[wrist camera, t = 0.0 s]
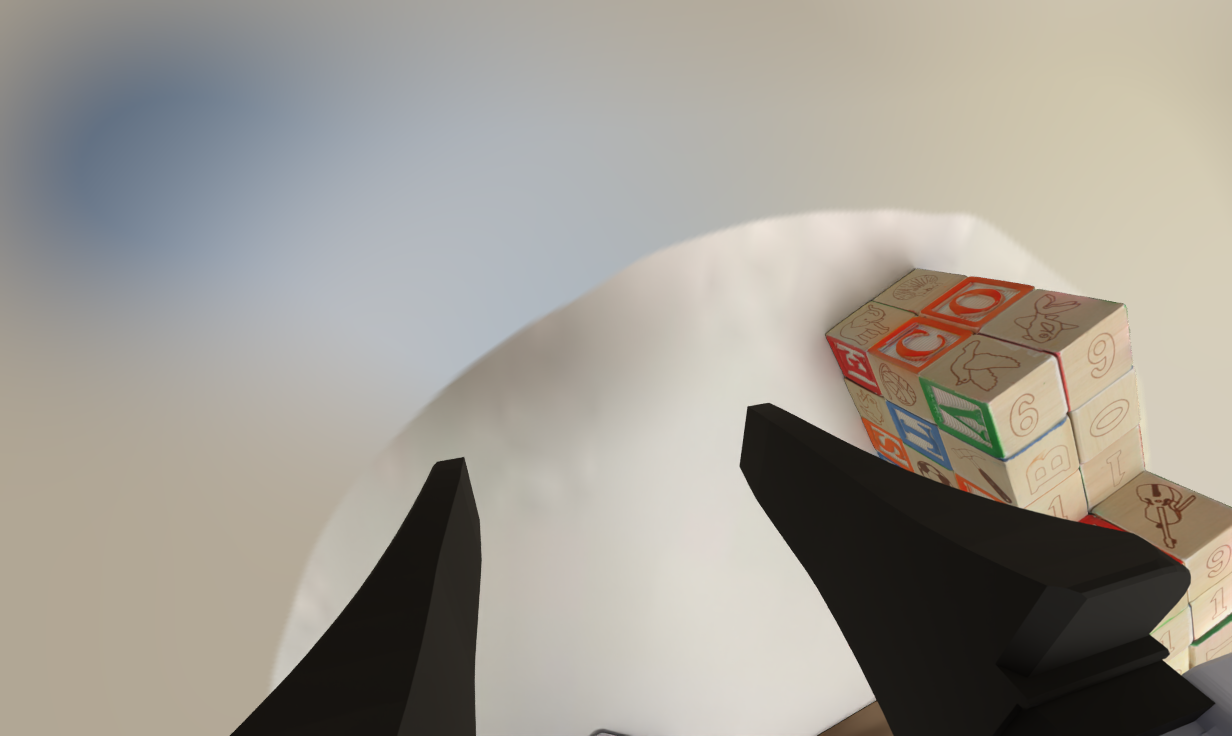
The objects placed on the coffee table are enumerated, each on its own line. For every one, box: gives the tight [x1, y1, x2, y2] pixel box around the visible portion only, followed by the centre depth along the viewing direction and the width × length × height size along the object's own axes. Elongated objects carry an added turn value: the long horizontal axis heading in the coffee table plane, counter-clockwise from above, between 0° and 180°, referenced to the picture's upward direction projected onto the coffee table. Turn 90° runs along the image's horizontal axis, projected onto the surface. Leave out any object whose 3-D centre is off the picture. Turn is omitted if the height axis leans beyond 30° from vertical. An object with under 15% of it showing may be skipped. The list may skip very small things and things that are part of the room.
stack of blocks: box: [826, 269, 1232, 675], centre depth 23 cm, size 21×6×12 cm, turn 34°
